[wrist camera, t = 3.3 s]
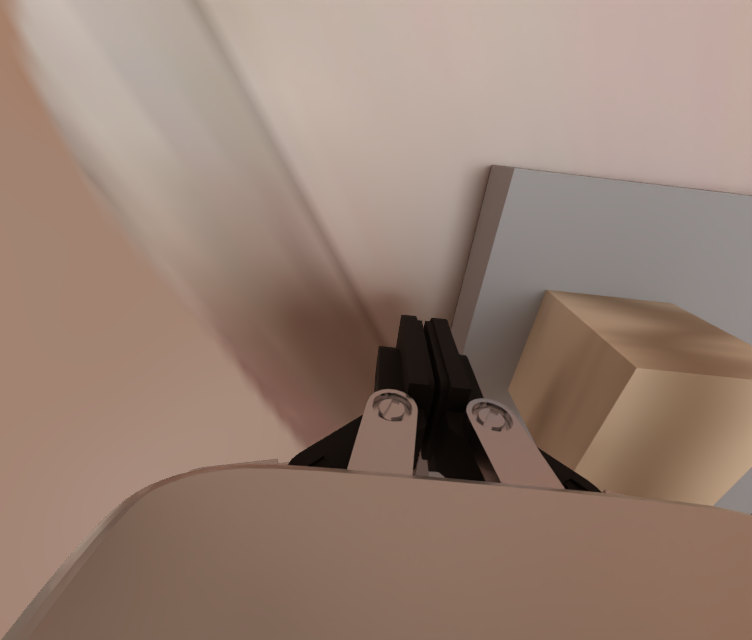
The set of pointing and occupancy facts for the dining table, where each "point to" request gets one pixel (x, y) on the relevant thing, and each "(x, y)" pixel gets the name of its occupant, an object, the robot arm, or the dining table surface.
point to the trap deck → (598, 265)
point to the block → (637, 396)
